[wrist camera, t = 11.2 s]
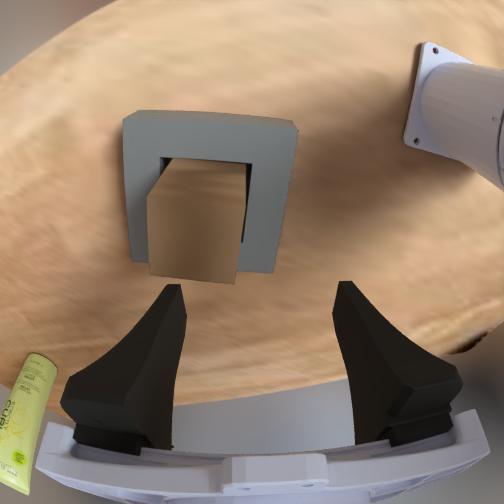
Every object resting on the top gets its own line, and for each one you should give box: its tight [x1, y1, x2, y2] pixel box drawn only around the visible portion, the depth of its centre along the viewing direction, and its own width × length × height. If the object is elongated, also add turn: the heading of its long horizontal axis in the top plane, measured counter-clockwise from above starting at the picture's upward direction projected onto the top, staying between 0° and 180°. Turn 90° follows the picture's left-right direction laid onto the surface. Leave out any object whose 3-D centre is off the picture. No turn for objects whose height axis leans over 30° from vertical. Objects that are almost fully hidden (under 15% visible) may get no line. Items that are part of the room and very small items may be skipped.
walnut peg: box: [147, 158, 246, 285], centre depth 17 cm, size 4×4×8 cm
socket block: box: [123, 110, 299, 273], centre depth 20 cm, size 10×10×3 cm
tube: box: [0, 353, 57, 495], centre depth 26 cm, size 6×5×20 cm
